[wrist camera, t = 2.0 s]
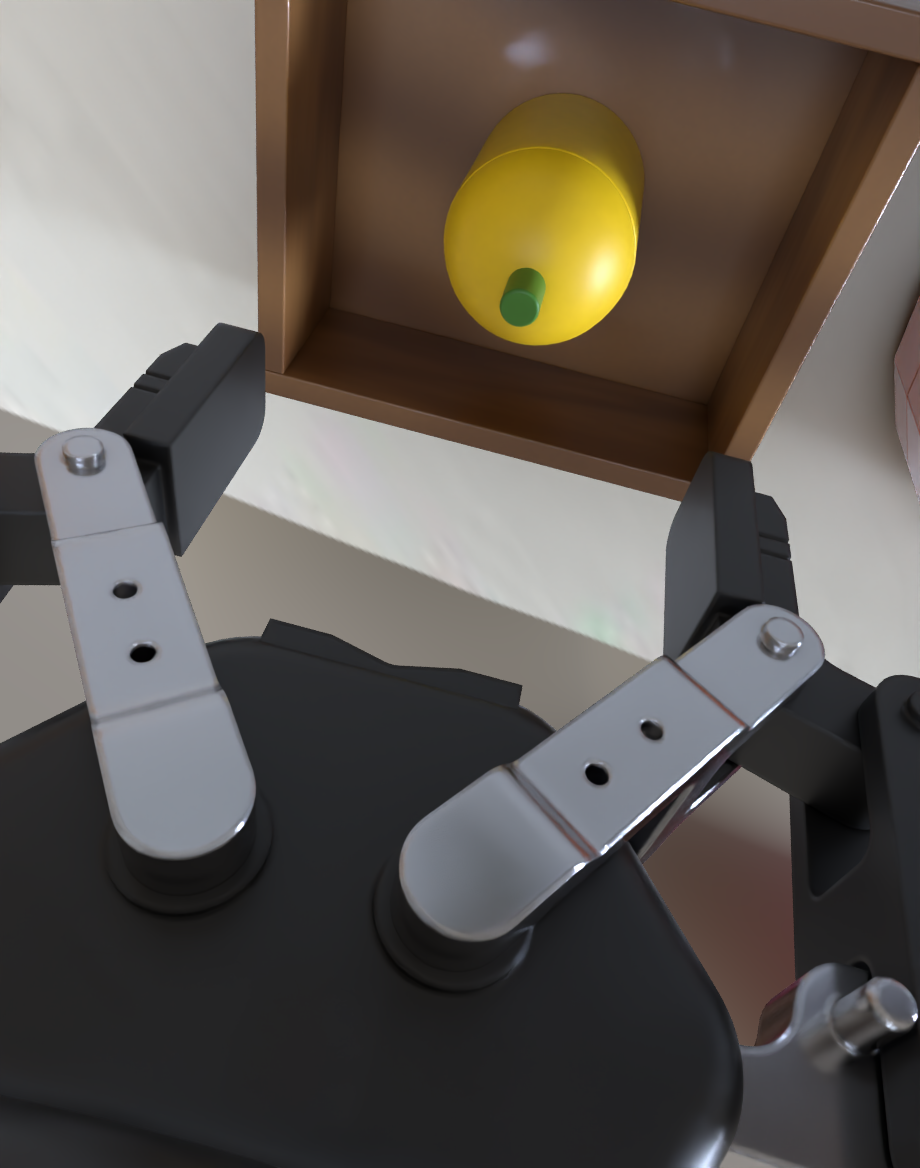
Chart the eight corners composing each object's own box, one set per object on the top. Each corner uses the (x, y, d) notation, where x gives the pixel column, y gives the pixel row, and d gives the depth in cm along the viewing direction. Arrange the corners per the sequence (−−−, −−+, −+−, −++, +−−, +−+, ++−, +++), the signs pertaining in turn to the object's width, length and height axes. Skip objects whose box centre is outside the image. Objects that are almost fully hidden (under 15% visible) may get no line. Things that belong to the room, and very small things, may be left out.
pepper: (494, 72, 22) (429, 170, 16) (669, 116, 22) (661, 229, 16) (463, 247, 25) (401, 375, 20) (614, 286, 25) (593, 425, 20)
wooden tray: (334, -169, 20) (252, -155, 16) (928, -21, 19) (983, 26, 16) (314, 311, 29) (258, 391, 25) (719, 417, 28) (723, 513, 25)
